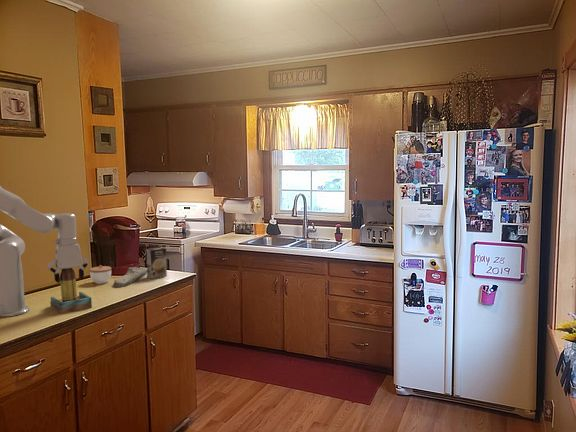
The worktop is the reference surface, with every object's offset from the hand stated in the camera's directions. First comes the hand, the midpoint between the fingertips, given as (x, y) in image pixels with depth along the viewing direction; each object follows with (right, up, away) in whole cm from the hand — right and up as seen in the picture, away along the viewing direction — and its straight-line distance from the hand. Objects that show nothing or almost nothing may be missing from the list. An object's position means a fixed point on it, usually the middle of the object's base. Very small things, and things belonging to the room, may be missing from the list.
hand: (69, 280), depth 204 cm
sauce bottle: (0, -10, +1) cm, 10 cm away
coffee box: (+22, -6, +57) cm, 62 cm away
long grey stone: (+10, -7, +52) cm, 53 cm away
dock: (0, -12, +1) cm, 12 cm away
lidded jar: (-4, -8, +45) cm, 45 cm away
